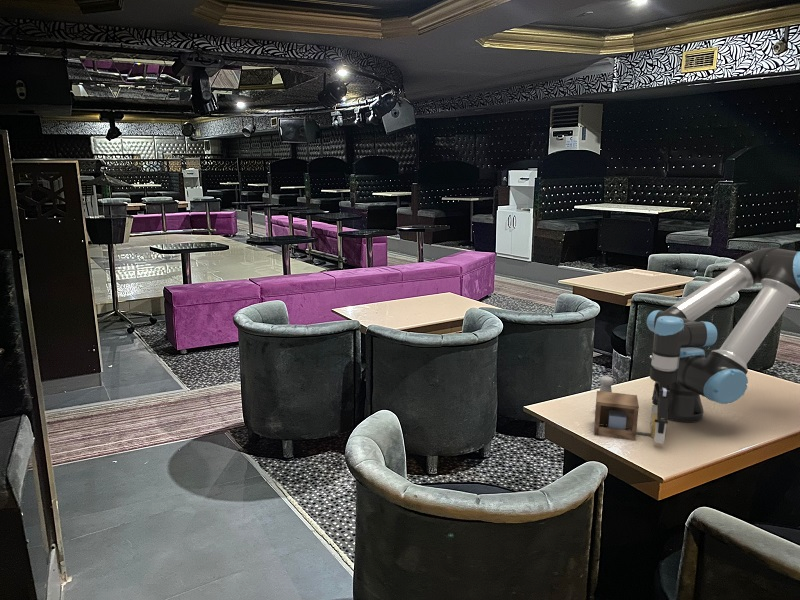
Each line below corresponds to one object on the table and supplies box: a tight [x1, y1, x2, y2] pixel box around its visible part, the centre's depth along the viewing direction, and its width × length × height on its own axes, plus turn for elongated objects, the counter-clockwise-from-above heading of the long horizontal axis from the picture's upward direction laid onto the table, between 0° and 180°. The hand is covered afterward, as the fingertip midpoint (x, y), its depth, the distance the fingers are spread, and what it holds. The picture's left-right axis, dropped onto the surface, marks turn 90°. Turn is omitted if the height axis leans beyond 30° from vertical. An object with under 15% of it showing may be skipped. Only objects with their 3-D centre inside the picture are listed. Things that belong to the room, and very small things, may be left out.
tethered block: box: [607, 410, 663, 439], centre depth 184 cm, size 16×5×7 cm, turn 72°
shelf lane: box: [593, 390, 640, 441], centre depth 186 cm, size 12×10×11 cm
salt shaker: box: [594, 375, 614, 408], centre depth 199 cm, size 6×6×13 cm
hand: (656, 433), depth 183 cm, fingers open, 13 cm apart
